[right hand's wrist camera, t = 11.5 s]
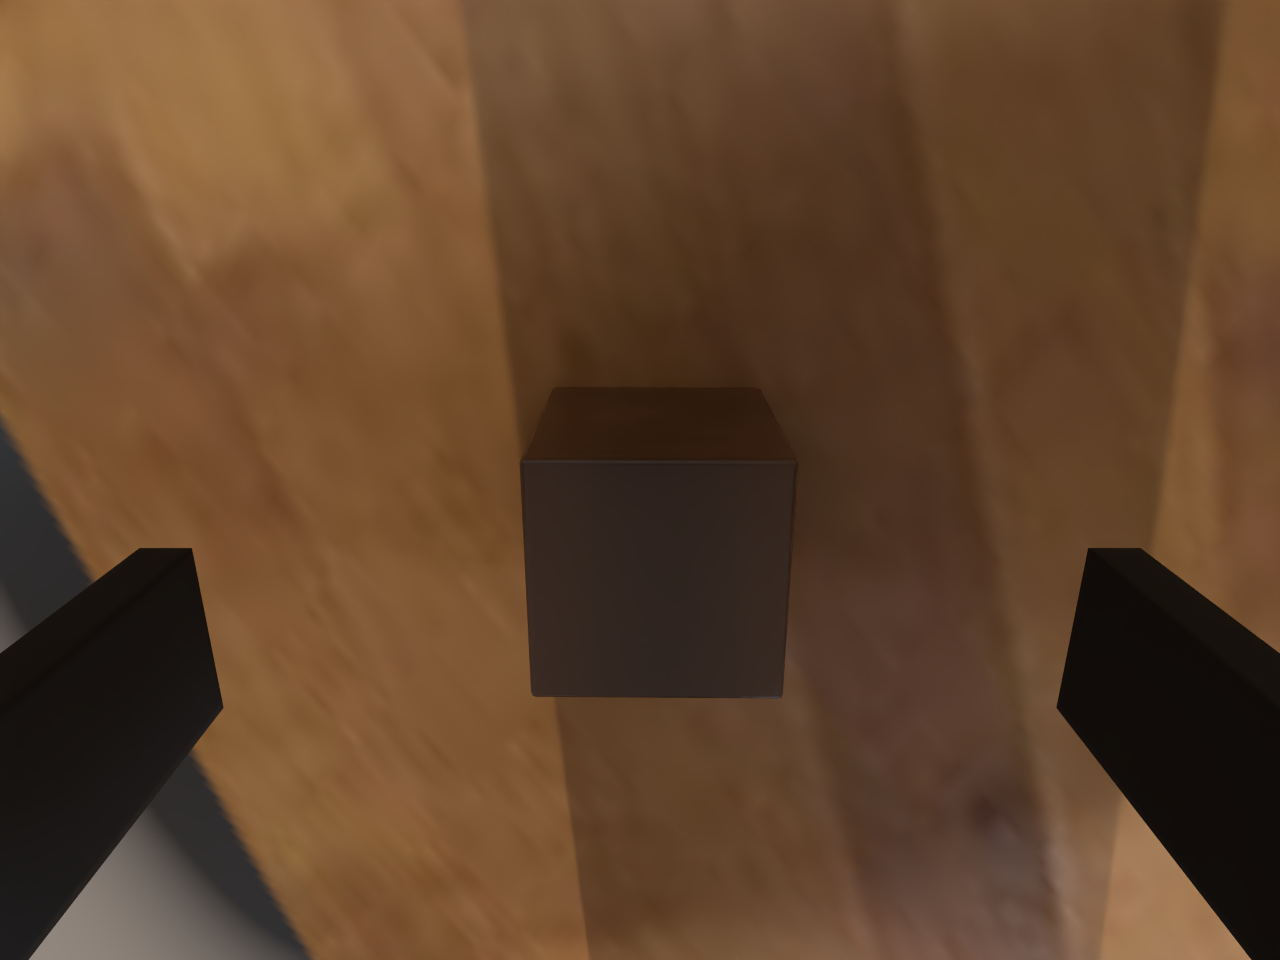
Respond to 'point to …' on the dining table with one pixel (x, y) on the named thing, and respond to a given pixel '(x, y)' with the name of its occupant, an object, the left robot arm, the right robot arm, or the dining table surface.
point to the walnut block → (657, 544)
